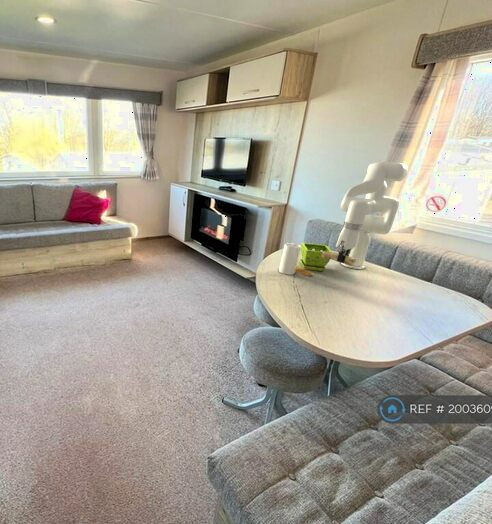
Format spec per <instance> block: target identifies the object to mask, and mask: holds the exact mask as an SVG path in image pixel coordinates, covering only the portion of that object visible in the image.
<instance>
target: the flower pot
mask: <svg viewBox="0 0 492 524" xmlns="http://www.w3.org/2000/svg"><path fill="white" fill-rule="evenodd" d="M323 251H327V252H333V251H332V250H331V248H330V247H329V246H328V245H326V244H318V243H309V242H301V249H300V253H301V255H300V256H301V258H299V261H300V263H301V266H302V267H303V268H302V269H305V270H308V271H310V270H311V271H318V272H325V271H326V270H327V268H326V266H327V265H328V263H329V262H330V260H331V259H326V258H323V257H322V253H323Z"/></svg>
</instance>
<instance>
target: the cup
mask: <svg viewBox="0 0 492 524" xmlns="http://www.w3.org/2000/svg"><path fill="white" fill-rule="evenodd" d="M301 247H302V245H300V244H298V243H294V242H285V243H284V246H283V251H282V254H281V258H280V264H279V267H278V271H279V273H281V274H284V275H290V276H292V275H295V274H296V273H295V272H296V271H295V269H296V266H297V265H298V261H299V257H300V253H301Z"/></svg>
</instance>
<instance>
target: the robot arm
mask: <svg viewBox="0 0 492 524" xmlns="http://www.w3.org/2000/svg"><path fill="white" fill-rule="evenodd" d="M408 167H409V166H408V165H407V164H405V163H402V162H394V161H393V162H391V161H376V162H373V163H370V164H369V165H368V167H367V170H366V175H365V177H364V178H363V181H361V182H359V183H357V184H355V185H353V186H351V187H350V188H349V189H348V190H347V191H346V193H345V194H344V196H343V198H342V199H341V203H340V209H341V211H343V212H345V213H346V215H345V219H344V221H343V225H342V229H341V231H340V233H339V235H338V239H337V242H336V244H335V248H337V253H338V254H339V255H338V258H337V261H336V262H338V263H340V264H341V265H342V266H344V267H346V268H349V269H354V270H364V269H365V268H366V265H365V263H364V262H365V261H366V256H367V253H368V250H369V247H370V244H371V240H372V238H371V235H370V233H373V234H379V235H387V234H389V233H390V231H391V230H392V227H393V224H394V221H395V218H396V216H397V213H398V209H399V206H400V200H399V199H398V198H396V197H390V196H386V194H387V191H388V184H387V182H386V181H389V182H403V180H405V179H406V177H407V175H408V172H409V168H408ZM364 195H365V198H364V197H359V196H364ZM373 213H374V214H379V215H374V214H373ZM381 215H383V216H381ZM345 255H346V256H349V257H353V258H356V262H355V265H354V266H350V265H347V264H344V260H345V257H346V256H345Z"/></svg>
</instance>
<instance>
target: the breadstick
mask: <svg viewBox="0 0 492 524" xmlns="http://www.w3.org/2000/svg"><path fill="white" fill-rule="evenodd" d="M295 272H296V273H297V272H298V273H300V274H302V275H304V276H308V277H311V276H312V275H313V271H310V270H308V269H304V268H302V267H299V266H297V265H296V269H295Z"/></svg>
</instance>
